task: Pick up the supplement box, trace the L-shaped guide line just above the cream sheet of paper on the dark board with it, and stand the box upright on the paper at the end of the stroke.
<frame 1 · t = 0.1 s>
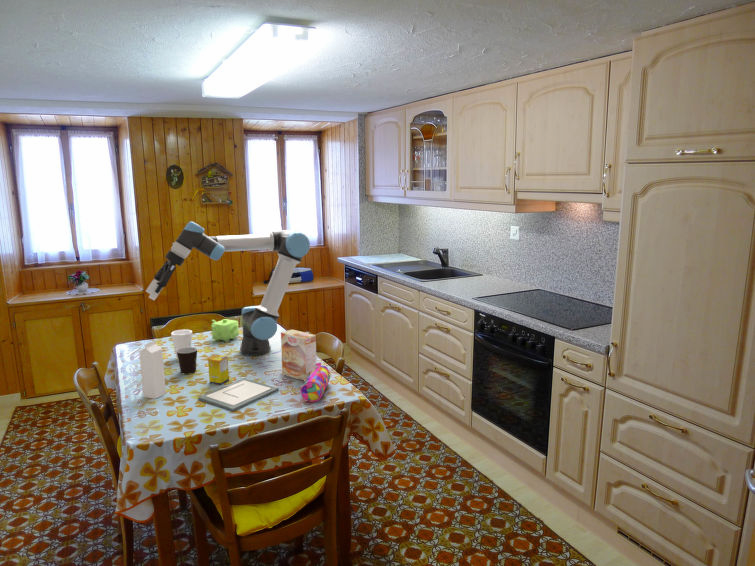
hand: (149, 295, 225), 36 cm above the table, tool tilted 35°, fingers open, 13 cm apart
pencil case: (316, 393, 213), on the table
coffeecake box: (299, 376, 231), on the table
green lumpy block: (224, 339, 285), on the table
paper pad: (239, 394, 211), on the table
foam cup: (183, 358, 255), on the table
milk: (154, 395, 210), on the table
coffee mug: (190, 370, 238), on the table
supplement box: (219, 382, 225), on the table
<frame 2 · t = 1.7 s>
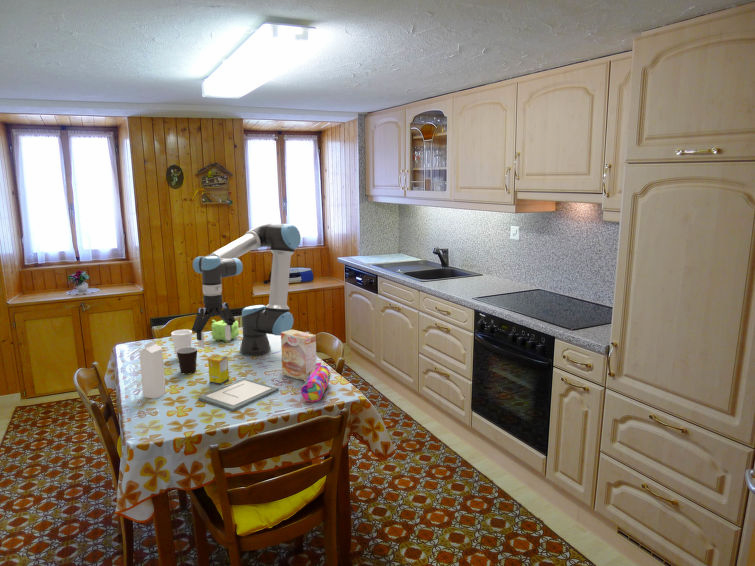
hand: (215, 343, 221), 17 cm above the table, tool pointing down, fingers open, 13 cm apart
nothing on the table moved.
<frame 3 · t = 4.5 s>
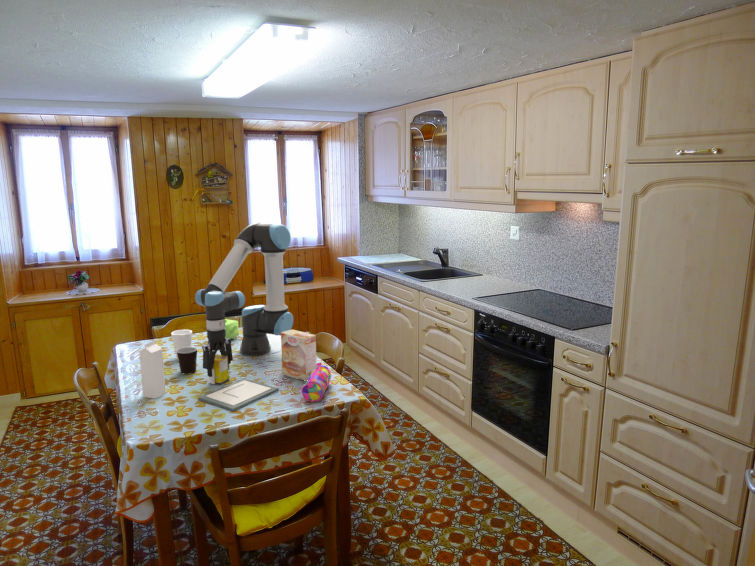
hand: (219, 380, 224), 1 cm above the table, tool pointing down, fingers closed on supplement box, 7 cm apart
supplement box: (219, 382, 225), on the table, touching gripper
everything else where it was.
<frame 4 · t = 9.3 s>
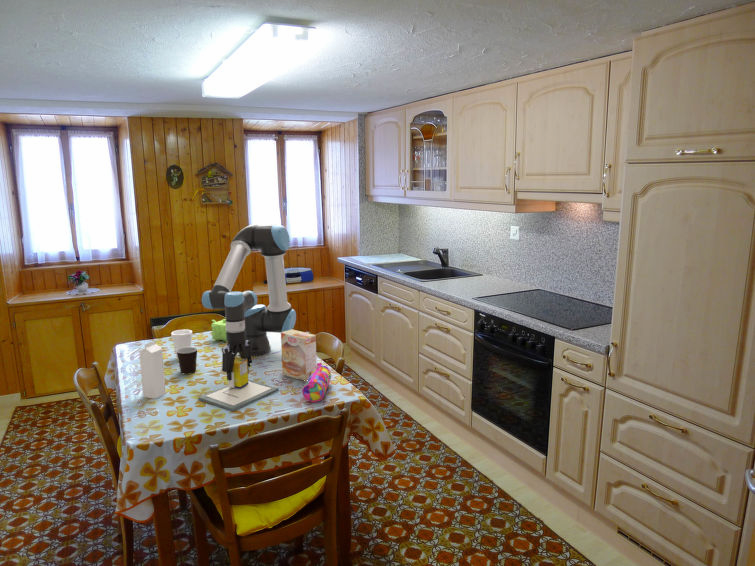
hand: (238, 384, 216), 2 cm above the table, tool pointing down, fingers closed on supplement box, 7 cm apart
supplement box: (238, 385, 216), point 1 cm above the table, touching gripper
everything else where it was.
when the fingers open (2 cm above the table, at t = 14.3 s): supplement box stays where it is, resting on paper pad.
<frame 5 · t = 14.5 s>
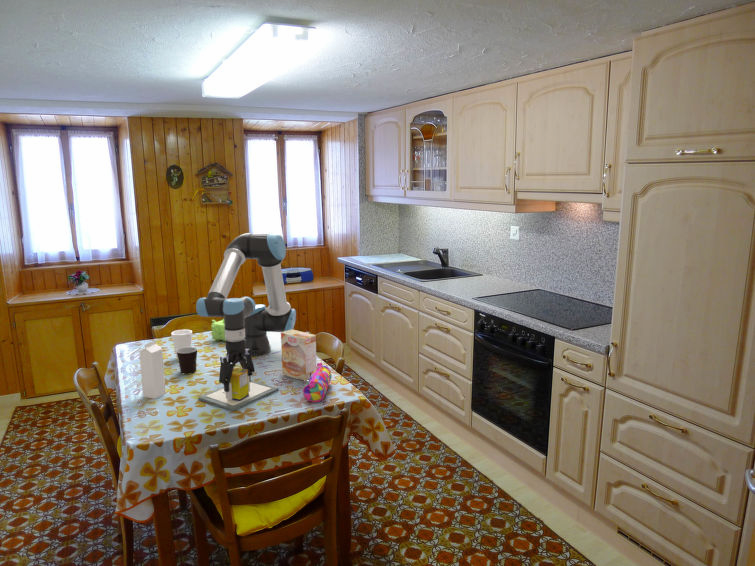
hand: (238, 394, 205), 2 cm above the table, tool pointing down, fingers open, 8 cm apart
supplement box: (238, 398, 205), point 1 cm above the table, touching paper pad
everything else where it was.
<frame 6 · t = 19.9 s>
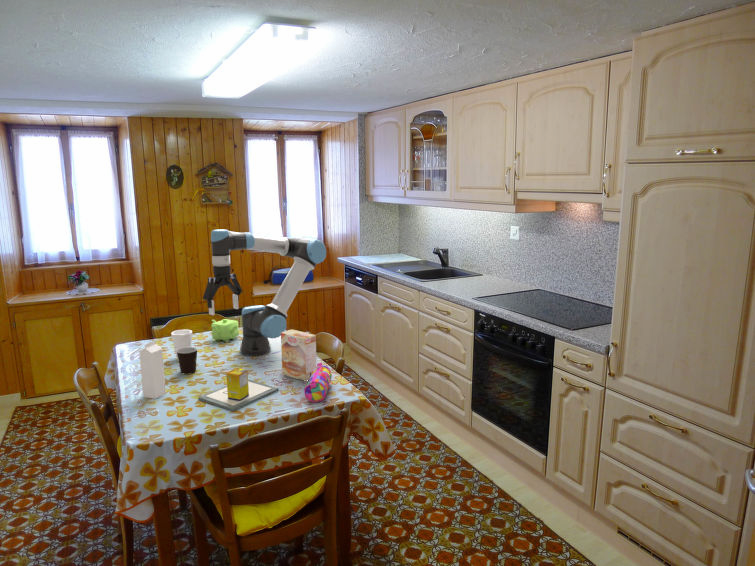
hand: (224, 311, 236), 27 cm above the table, tool pointing down, fingers open, 13 cm apart
nothing on the table moved.
at the end: supplement box inside the target area on the paper pad (0.0 cm from its centre), point 1.0 cm above the paper pad's base; supplement box tilted 0°; the gripper is holding nothing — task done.
